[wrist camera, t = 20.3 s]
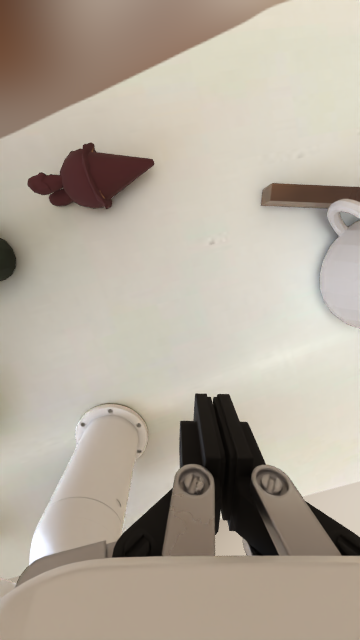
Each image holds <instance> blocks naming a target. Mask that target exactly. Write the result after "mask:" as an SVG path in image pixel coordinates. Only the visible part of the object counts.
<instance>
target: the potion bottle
mask: <svg viewBox="0 0 360 640" xmlns="http://www.w3.org/2000/svg"><path fill="white" fill-rule="evenodd" d="M15 262H16V258H15V255H14V253H13V250H12V248H11V247H10V246H9V245H8V244H7V242H6V241H4V240H3V239H1V238H0V281H2V280H6V279H7V278H8V277H9V276H11V275H12V273H13V271H14V269H15Z"/></svg>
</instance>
